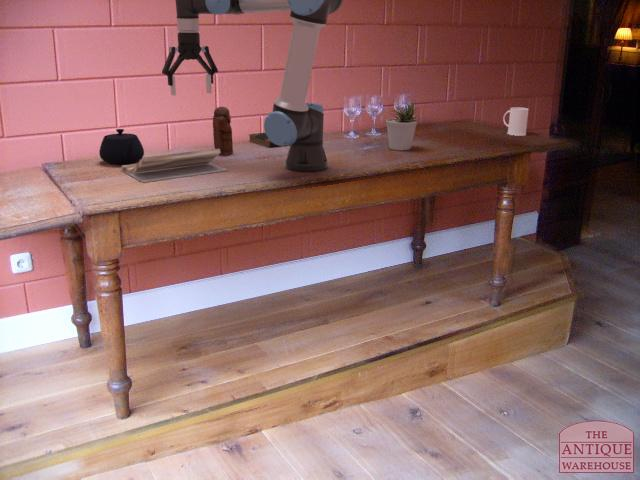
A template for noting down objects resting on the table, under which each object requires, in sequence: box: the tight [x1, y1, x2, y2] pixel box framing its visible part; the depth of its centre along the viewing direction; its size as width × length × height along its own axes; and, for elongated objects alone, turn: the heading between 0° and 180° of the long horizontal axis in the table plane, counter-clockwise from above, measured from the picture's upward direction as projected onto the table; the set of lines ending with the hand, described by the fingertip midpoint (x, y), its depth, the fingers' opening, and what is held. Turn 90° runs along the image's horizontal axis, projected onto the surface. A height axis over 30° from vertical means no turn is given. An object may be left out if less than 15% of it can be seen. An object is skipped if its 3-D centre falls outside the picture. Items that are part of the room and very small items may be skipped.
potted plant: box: [385, 100, 420, 152], centre depth 268 cm, size 13×14×20 cm
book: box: [248, 132, 290, 149], centre depth 282 cm, size 17×4×25 cm
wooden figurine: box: [212, 106, 234, 157], centre depth 256 cm, size 12×6×18 cm, turn 25°
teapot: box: [98, 128, 145, 166], centre depth 238 cm, size 25×16×12 cm, turn 34°
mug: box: [502, 106, 530, 137], centre depth 307 cm, size 12×8×12 cm
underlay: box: [120, 162, 229, 184], centre depth 229 cm, size 20×31×1 cm, turn 126°
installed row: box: [121, 163, 207, 174], centre depth 234 cm, size 7×30×1 cm, turn 126°
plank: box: [133, 148, 221, 173], centre depth 226 cm, size 11×28×2 cm, turn 126°
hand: (191, 94), depth 235 cm, fingers open, 13 cm apart
